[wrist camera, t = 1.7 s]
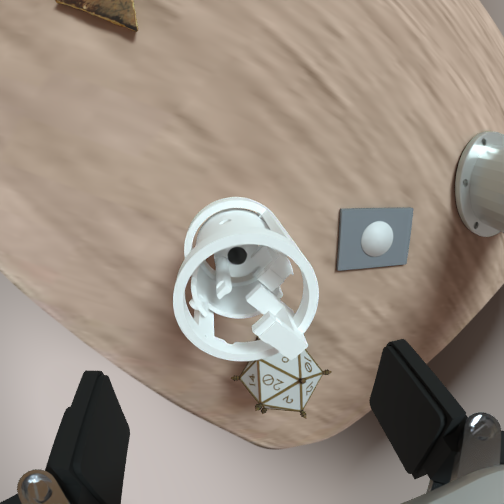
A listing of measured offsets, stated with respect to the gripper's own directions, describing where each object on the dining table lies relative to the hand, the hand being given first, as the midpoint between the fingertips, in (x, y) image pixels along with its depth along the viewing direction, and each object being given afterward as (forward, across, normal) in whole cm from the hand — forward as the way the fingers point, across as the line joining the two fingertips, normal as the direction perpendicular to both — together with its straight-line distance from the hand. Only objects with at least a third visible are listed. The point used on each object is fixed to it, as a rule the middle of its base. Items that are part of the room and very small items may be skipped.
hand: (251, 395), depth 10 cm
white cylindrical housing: (+20, -1, 0) cm, 20 cm away
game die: (+20, -5, +14) cm, 25 cm away
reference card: (+19, -15, +2) cm, 25 cm away
